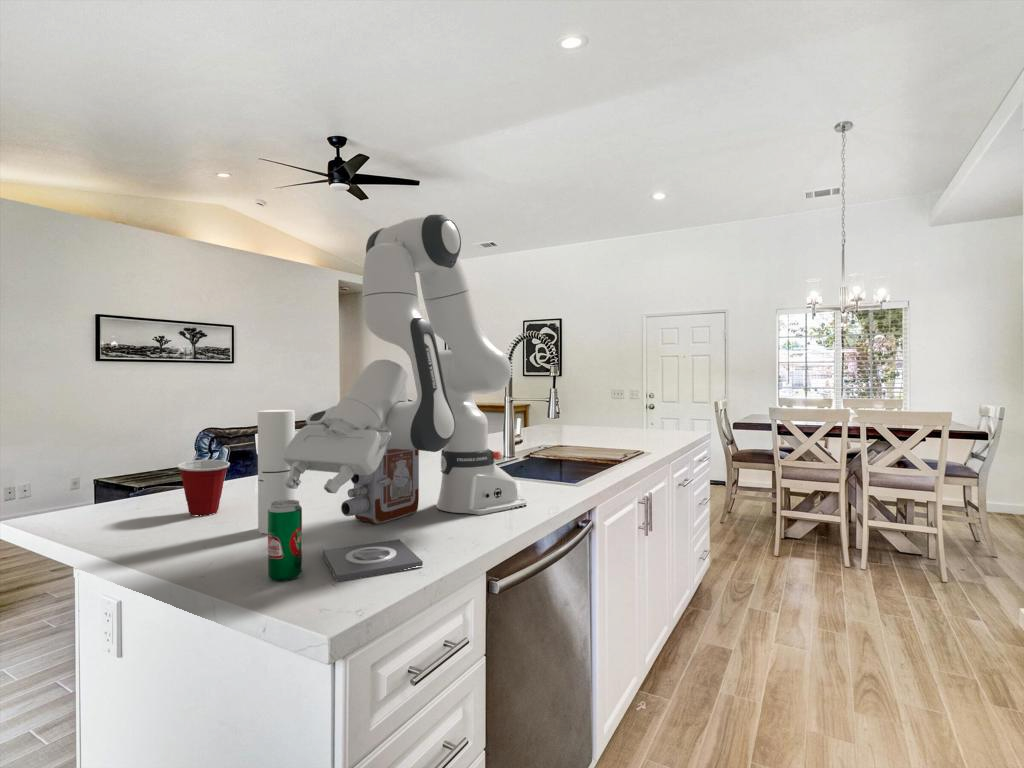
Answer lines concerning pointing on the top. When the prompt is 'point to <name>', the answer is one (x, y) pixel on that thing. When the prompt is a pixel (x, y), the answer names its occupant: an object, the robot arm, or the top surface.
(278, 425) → the cylindrical container
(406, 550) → the mount plate
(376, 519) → the cine camera
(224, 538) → the top surface
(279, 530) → the soda can
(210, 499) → the plastic cup
